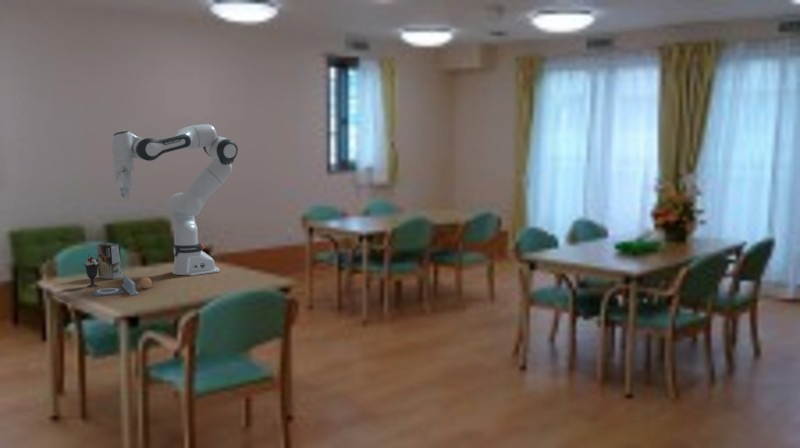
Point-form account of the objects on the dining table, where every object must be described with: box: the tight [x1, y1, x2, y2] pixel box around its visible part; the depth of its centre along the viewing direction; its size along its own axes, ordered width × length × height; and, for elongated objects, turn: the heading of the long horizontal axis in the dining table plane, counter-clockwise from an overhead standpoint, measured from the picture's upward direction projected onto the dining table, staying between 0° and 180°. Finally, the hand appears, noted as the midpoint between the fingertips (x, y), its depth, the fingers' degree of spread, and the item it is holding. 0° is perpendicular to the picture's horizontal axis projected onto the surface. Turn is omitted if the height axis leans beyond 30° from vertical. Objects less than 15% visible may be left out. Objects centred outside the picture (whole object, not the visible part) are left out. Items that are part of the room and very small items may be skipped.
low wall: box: [121, 274, 139, 296], centre depth 334 cm, size 3×22×5 cm, turn 29°
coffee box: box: [96, 242, 123, 280], centre depth 361 cm, size 9×6×16 cm
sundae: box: [83, 254, 99, 288], centre depth 342 cm, size 7×7×15 cm
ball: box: [139, 277, 153, 290], centre depth 338 cm, size 5×5×5 cm
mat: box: [90, 287, 126, 297], centre depth 330 cm, size 12×12×1 cm
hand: (124, 197), depth 347 cm, fingers open, 8 cm apart
